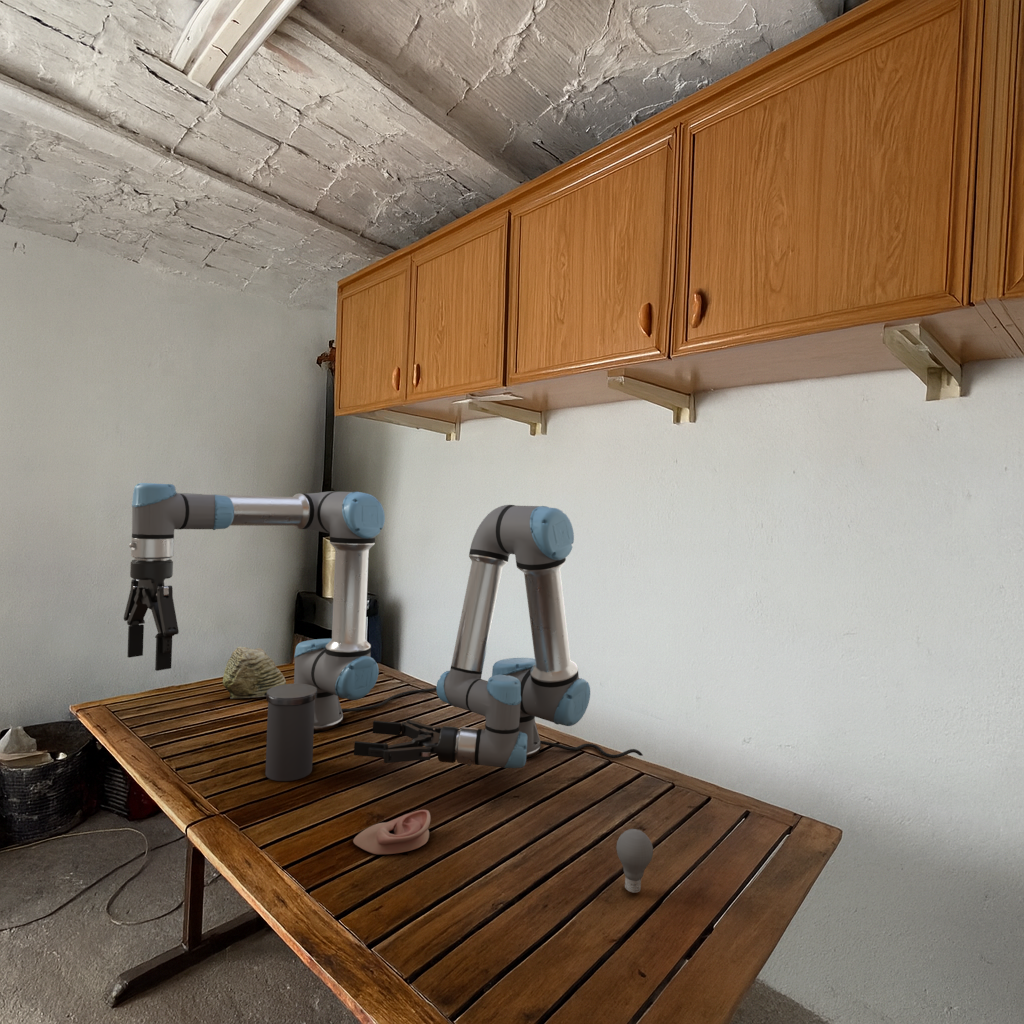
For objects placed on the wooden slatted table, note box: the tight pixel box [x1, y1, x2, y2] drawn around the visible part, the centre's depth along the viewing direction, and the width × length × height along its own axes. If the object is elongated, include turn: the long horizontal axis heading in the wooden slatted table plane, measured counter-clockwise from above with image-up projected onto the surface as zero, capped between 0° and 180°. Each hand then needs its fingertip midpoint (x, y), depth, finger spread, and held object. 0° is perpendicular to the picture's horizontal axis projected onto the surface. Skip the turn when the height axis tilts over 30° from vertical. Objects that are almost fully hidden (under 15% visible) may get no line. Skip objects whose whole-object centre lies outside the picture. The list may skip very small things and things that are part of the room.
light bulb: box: [615, 828, 654, 894], centre depth 106 cm, size 6×6×10 cm
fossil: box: [222, 646, 287, 699], centre depth 198 cm, size 9×18×15 cm, turn 132°
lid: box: [265, 683, 317, 706], centre depth 145 cm, size 11×11×2 cm
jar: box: [264, 700, 315, 782], centre depth 145 cm, size 10×10×18 cm
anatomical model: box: [352, 809, 431, 856], centre depth 118 cm, size 13×4×12 cm
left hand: (148, 662), depth 129 cm, fingers open, 13 cm apart
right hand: (364, 737), depth 142 cm, fingers open, 13 cm apart
